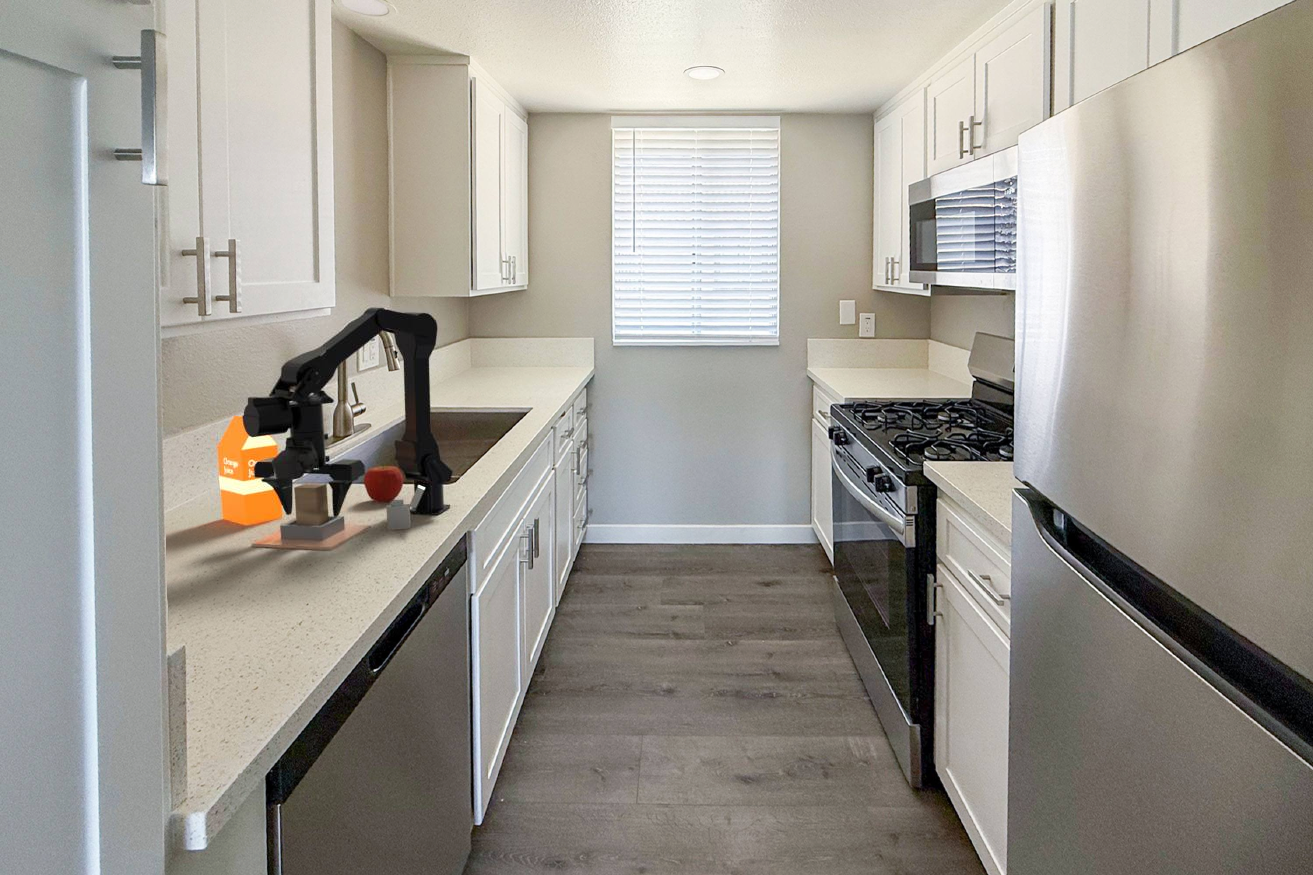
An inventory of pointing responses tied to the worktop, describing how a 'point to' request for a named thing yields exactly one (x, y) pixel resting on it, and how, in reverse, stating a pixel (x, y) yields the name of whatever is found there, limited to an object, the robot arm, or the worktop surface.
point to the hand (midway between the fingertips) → (312, 515)
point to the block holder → (312, 535)
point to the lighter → (402, 511)
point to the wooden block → (311, 504)
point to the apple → (383, 483)
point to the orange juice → (245, 476)
